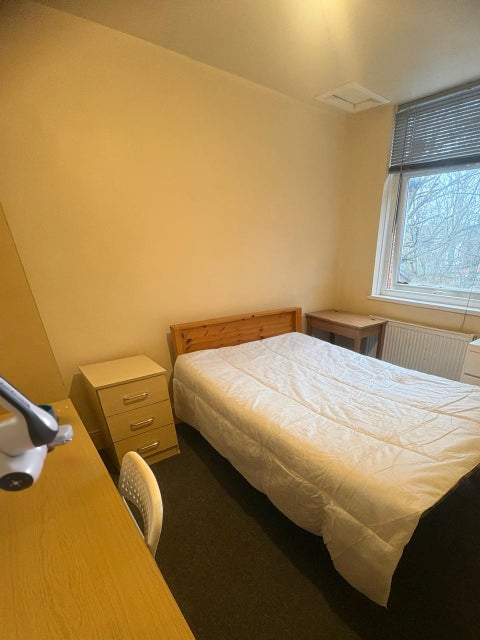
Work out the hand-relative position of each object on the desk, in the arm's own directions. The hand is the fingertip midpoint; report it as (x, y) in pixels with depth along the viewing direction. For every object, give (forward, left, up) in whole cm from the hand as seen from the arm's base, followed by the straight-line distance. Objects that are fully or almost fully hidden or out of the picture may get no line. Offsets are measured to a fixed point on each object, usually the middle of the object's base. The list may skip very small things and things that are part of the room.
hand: (37, 427), depth 105 cm
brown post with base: (0, -1, -9) cm, 9 cm away
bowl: (-7, +30, -13) cm, 34 cm away
